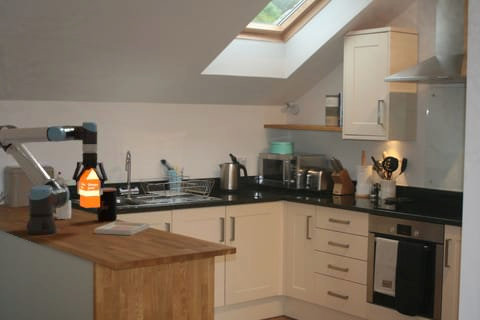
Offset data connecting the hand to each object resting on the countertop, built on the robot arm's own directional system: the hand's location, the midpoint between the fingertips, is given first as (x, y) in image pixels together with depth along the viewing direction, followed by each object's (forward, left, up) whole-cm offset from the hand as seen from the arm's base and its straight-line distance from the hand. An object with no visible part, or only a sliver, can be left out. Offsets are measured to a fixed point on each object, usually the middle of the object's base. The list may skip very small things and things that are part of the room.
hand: (90, 194), depth 359 cm
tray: (+4, -16, -19) cm, 25 cm away
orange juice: (0, 0, -6) cm, 6 cm away
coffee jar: (+32, +6, -19) cm, 38 cm away
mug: (+30, +34, -19) cm, 49 cm away
